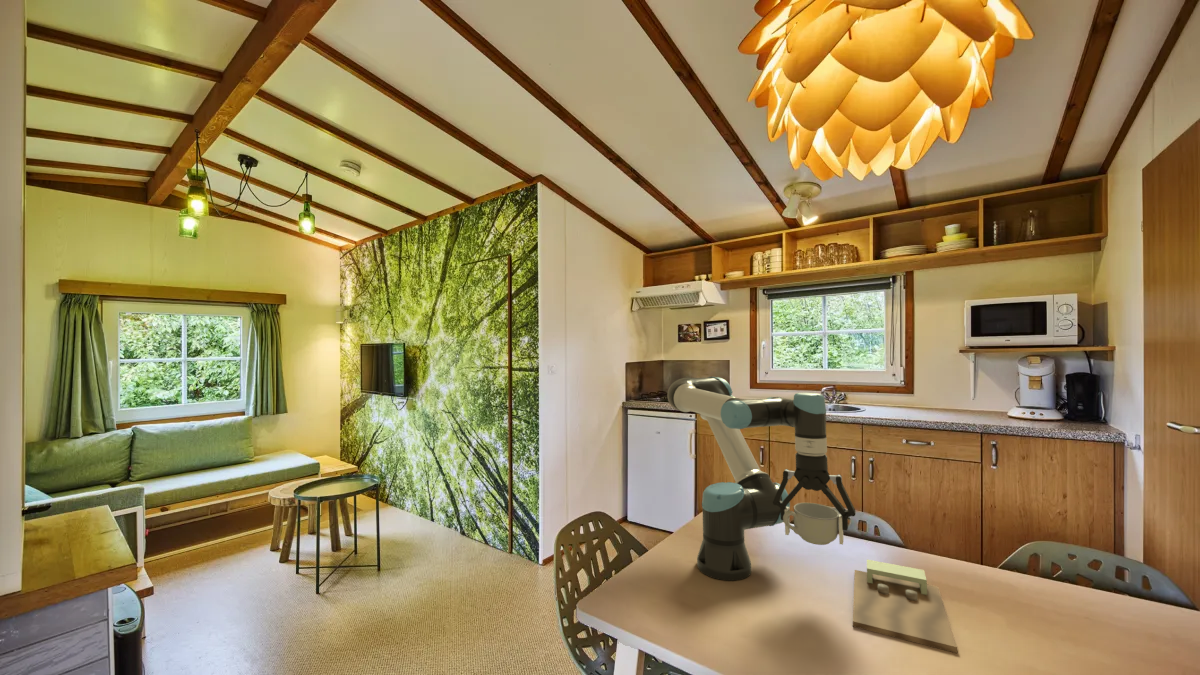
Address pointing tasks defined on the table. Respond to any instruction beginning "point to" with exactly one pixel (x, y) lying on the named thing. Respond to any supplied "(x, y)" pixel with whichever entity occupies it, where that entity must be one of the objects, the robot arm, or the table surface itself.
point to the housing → (897, 573)
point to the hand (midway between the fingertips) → (813, 537)
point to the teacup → (814, 522)
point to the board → (902, 611)
